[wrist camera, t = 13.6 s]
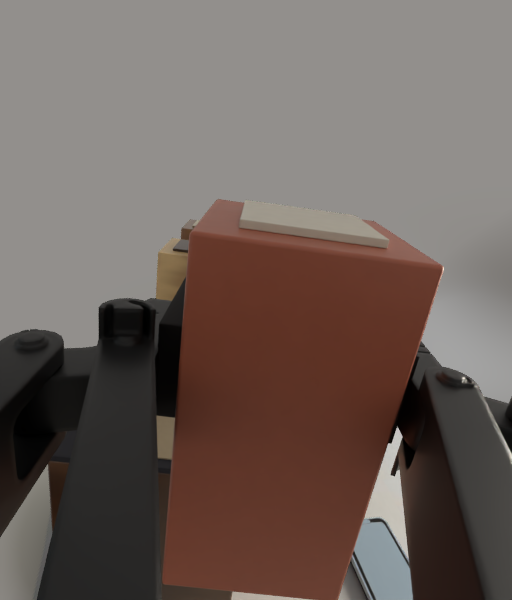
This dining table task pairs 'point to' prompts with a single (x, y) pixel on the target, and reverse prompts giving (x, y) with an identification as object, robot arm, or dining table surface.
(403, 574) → the smartphone
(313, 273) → the orange block
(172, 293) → the wooden pillar block
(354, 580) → the dining table surface
